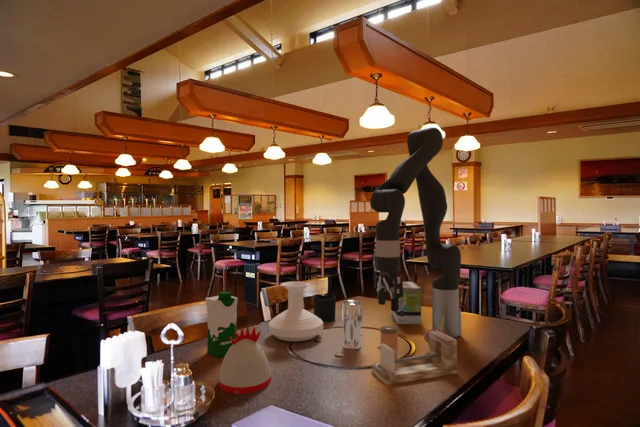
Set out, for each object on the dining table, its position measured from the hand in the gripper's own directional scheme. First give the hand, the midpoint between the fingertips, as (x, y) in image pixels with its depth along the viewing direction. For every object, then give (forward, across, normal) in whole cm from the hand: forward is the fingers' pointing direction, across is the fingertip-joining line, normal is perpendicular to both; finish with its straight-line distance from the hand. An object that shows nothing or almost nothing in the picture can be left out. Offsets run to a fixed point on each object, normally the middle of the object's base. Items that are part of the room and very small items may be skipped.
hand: (388, 307), depth 125 cm
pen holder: (+16, +49, +4) cm, 52 cm away
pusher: (+15, -11, -3) cm, 19 cm away
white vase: (+16, +32, +21) cm, 41 cm away
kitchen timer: (+16, -2, +44) cm, 47 cm away
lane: (+16, -11, -2) cm, 20 cm away
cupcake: (+16, +1, -18) cm, 24 cm away
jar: (+16, 0, 0) cm, 16 cm away
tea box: (+16, +38, -28) cm, 50 cm away
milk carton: (+16, +23, +48) cm, 56 cm away
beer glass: (+16, +15, +6) cm, 23 cm away
